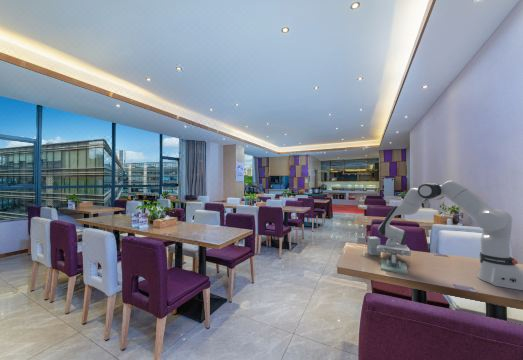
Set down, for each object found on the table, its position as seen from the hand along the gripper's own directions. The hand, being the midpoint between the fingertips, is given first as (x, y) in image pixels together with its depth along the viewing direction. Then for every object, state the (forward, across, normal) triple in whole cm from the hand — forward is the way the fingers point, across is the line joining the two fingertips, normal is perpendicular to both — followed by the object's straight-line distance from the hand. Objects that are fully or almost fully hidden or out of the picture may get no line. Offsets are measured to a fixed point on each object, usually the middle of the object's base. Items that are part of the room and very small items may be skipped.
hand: (393, 253), depth 148 cm
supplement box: (-19, -12, +8) cm, 24 cm away
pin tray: (+5, 0, +8) cm, 9 cm away
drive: (+5, 0, +6) cm, 8 cm away
